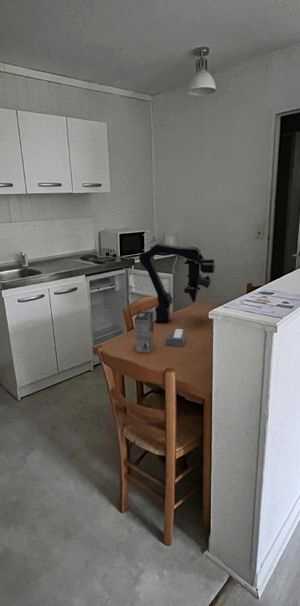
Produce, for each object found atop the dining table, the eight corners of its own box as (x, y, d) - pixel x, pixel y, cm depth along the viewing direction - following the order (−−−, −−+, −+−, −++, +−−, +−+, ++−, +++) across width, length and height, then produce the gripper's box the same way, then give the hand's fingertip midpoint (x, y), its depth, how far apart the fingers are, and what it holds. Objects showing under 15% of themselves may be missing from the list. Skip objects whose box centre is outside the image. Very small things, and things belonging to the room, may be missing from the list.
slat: (173, 344, 165) (173, 338, 164) (175, 334, 176) (175, 329, 176) (180, 344, 165) (180, 338, 164) (182, 334, 176) (182, 329, 175)
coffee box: (140, 343, 167) (139, 311, 162) (154, 344, 166) (153, 311, 161) (136, 351, 158) (134, 317, 153) (150, 352, 157) (149, 318, 152)
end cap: (166, 345, 164) (166, 338, 163) (169, 338, 172) (169, 331, 171) (182, 346, 162) (182, 339, 161) (185, 339, 170) (185, 332, 169)
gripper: (206, 277, 170) (206, 308, 174) (212, 269, 187) (212, 297, 191) (183, 276, 173) (184, 307, 178) (191, 268, 190) (191, 296, 195)
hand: (194, 301), depth 185 cm, fingers closed
